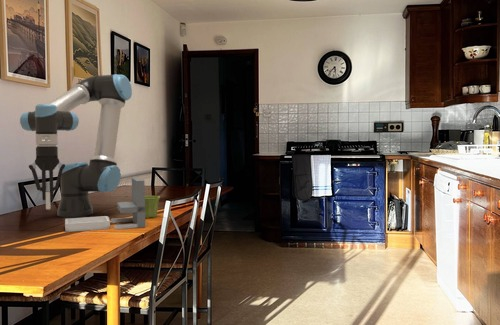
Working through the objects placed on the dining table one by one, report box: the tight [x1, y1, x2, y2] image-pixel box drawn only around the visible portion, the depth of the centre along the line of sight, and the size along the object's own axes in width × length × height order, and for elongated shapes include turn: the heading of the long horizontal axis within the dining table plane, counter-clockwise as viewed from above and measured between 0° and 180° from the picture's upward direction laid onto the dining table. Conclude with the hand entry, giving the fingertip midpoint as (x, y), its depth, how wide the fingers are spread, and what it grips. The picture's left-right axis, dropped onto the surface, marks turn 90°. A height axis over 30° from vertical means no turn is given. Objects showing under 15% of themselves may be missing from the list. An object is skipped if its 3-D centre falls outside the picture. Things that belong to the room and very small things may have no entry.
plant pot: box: [145, 195, 161, 219], centre depth 214 cm, size 9×9×9 cm
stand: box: [110, 176, 147, 230], centre depth 196 cm, size 16×12×18 cm
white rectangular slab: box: [64, 215, 111, 233], centre depth 192 cm, size 12×16×3 cm
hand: (48, 208), depth 186 cm, fingers closed
